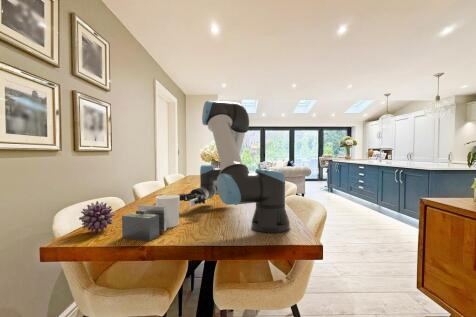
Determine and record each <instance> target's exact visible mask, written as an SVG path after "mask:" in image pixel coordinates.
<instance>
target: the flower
mask: <svg viewBox="0 0 476 317" xmlns="http://www.w3.org/2000/svg"><path fill="white" fill-rule="evenodd" d="M90 204H91V205H90ZM90 204H87V205H86V207H87V208H82V211H80V213H81V214H83V215H82V216H80V217H78V220H79V221H81V225H82V227H81V228H82V229H84V230H85V229H87V231H90V233H93V232H94V230H95V233H98V232H99V230H100V231H101V232H104V231H105V229H107V228H108V227H107V226H108V225H112V224H113V219H112V218H113V217H114V216H116V214H115V213H112V211H113V208H112V205H108V206H107V202H105V203H104V202H103V201H101V202H100V203H99V201H97V200H96V202H95V204H94V202H91V203H90ZM104 228H105V229H104Z"/></svg>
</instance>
